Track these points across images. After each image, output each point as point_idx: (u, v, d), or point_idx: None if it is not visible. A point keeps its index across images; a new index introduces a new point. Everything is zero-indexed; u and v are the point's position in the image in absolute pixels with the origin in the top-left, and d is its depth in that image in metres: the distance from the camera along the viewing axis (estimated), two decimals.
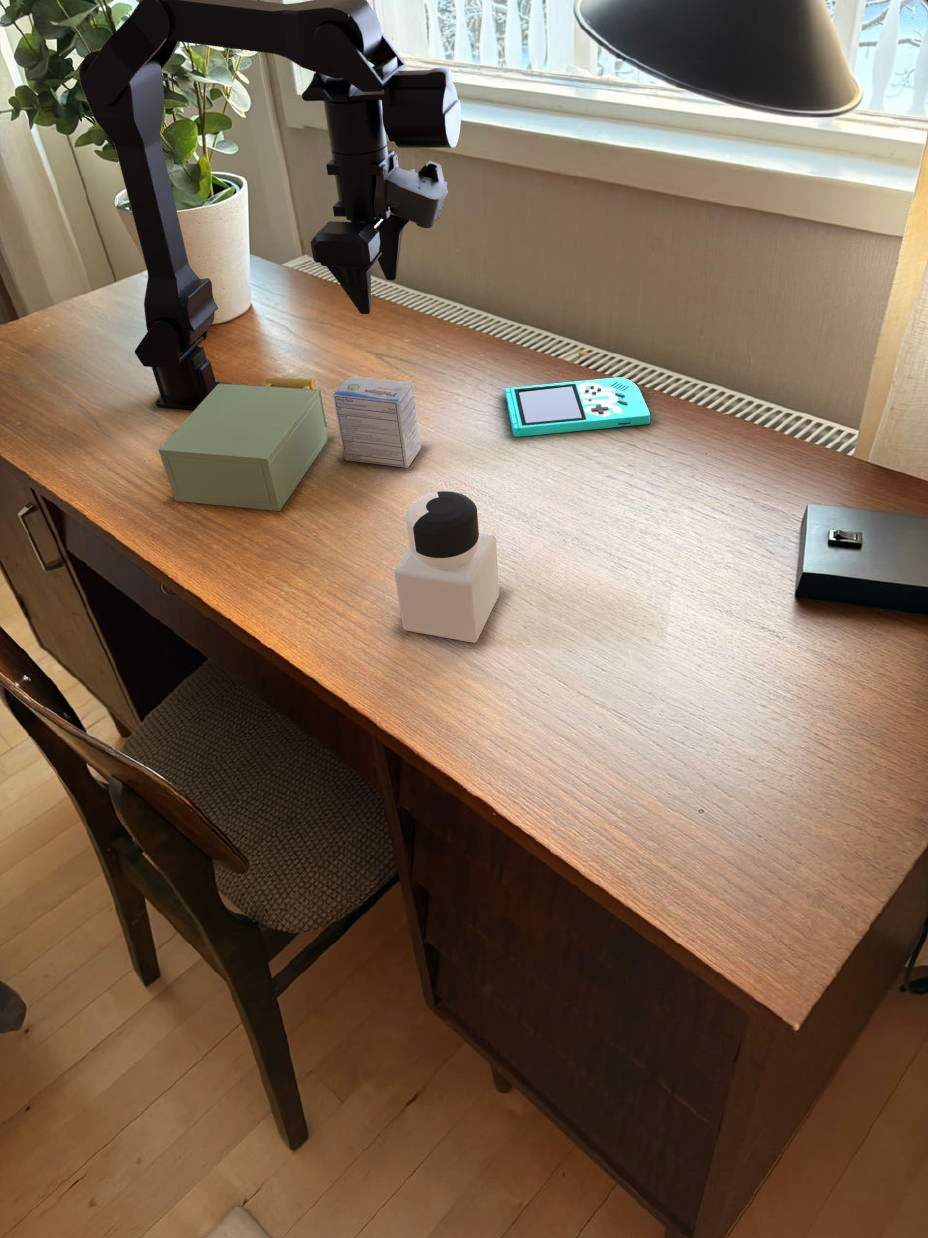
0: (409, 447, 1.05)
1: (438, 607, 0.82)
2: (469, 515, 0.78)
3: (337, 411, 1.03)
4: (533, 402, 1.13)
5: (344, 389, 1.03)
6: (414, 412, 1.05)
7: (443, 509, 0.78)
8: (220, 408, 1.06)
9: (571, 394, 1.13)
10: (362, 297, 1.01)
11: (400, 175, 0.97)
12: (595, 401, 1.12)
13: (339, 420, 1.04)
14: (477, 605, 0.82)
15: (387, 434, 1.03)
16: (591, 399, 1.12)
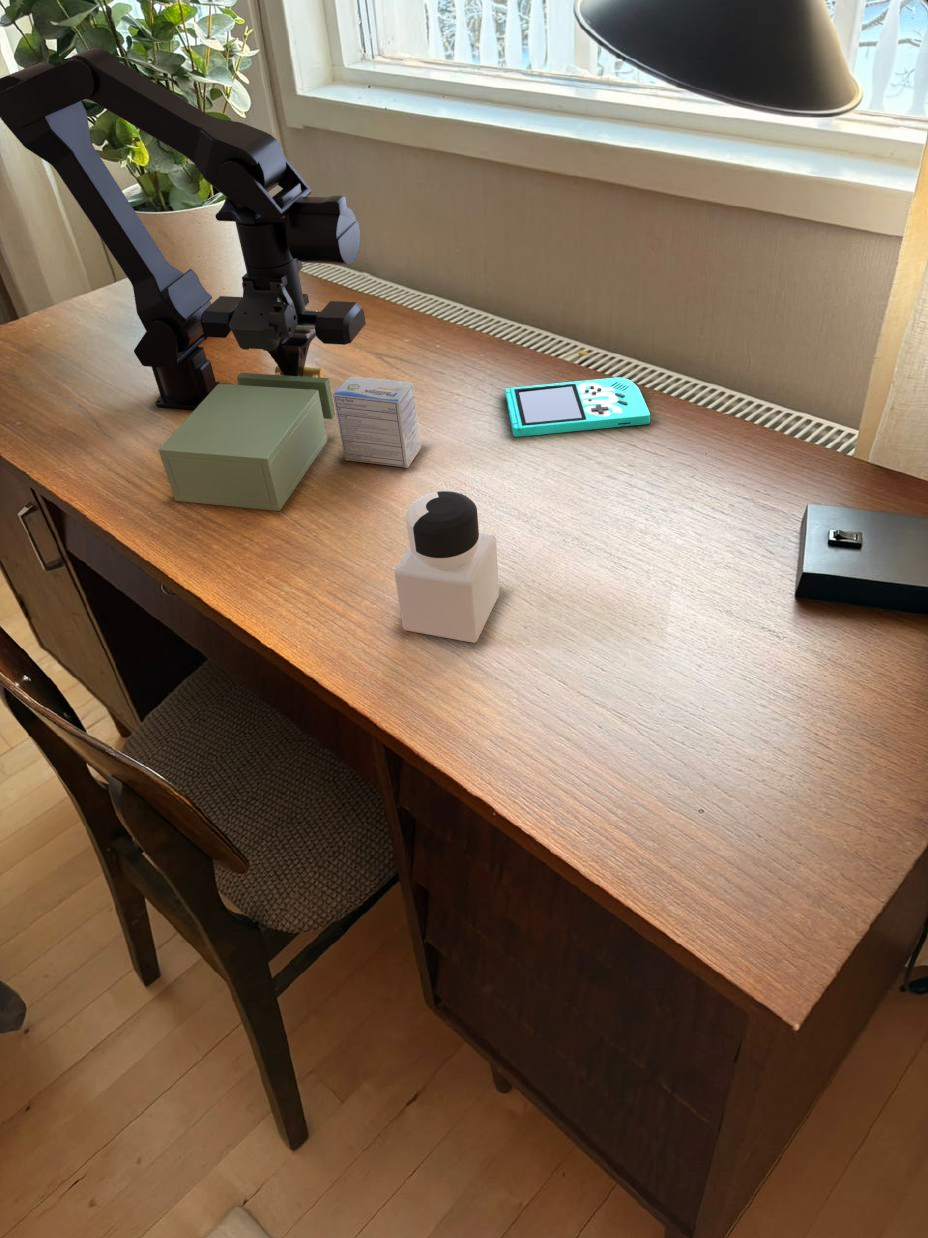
0: (409, 447, 1.05)
1: (438, 607, 0.82)
2: (469, 515, 0.78)
3: (337, 411, 1.03)
4: (533, 402, 1.13)
5: (344, 389, 1.03)
6: (414, 412, 1.05)
7: (443, 509, 0.78)
8: (220, 408, 1.06)
9: (571, 394, 1.13)
10: None
11: (262, 298, 1.05)
12: (595, 401, 1.12)
13: (339, 420, 1.04)
14: (477, 605, 0.82)
15: (387, 434, 1.03)
16: (591, 399, 1.12)
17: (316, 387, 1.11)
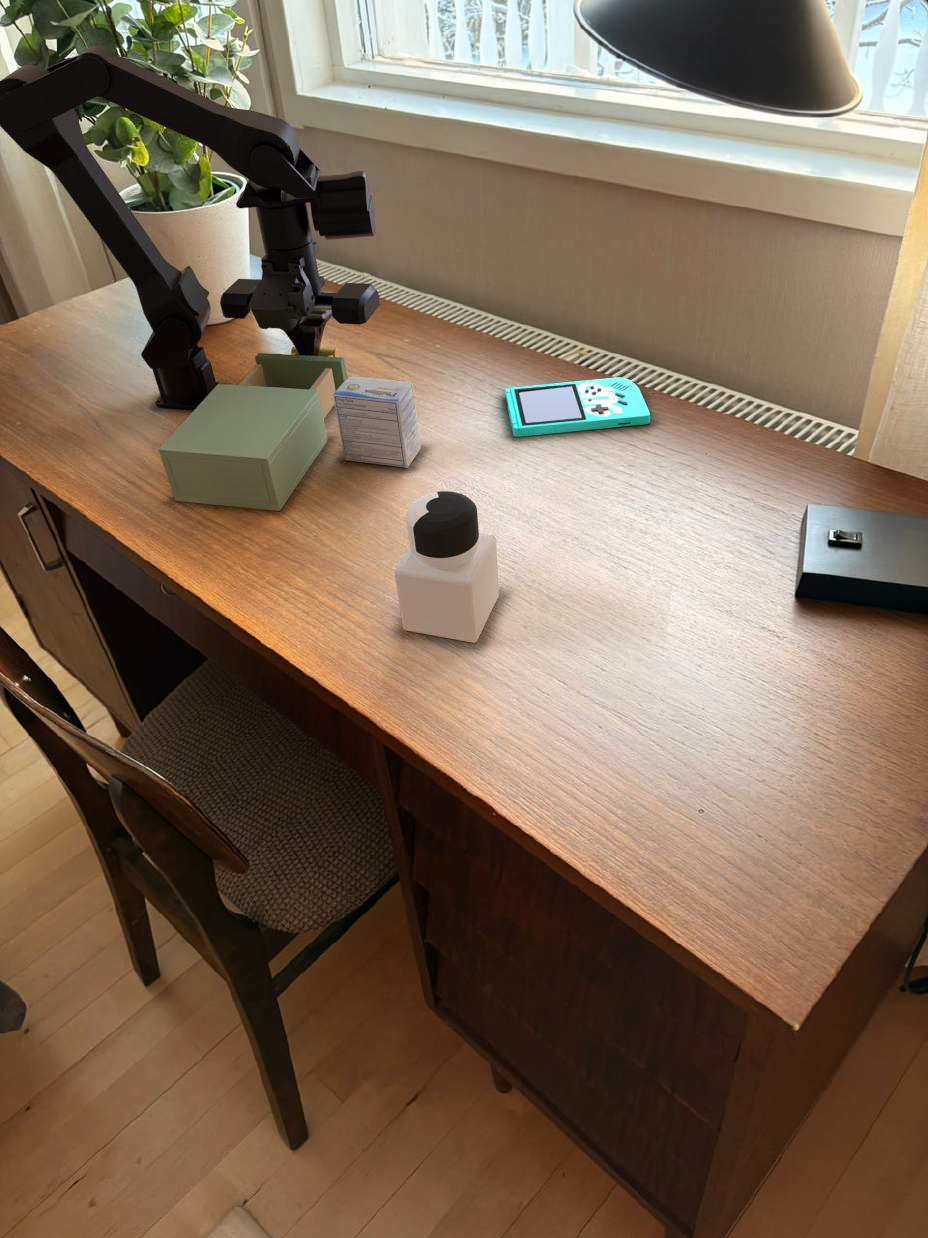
0: (409, 447, 1.05)
1: (438, 607, 0.82)
2: (469, 515, 0.78)
3: (337, 411, 1.03)
4: (533, 402, 1.13)
5: (344, 389, 1.03)
6: (414, 412, 1.05)
7: (443, 509, 0.78)
8: (220, 408, 1.06)
9: (571, 394, 1.13)
10: None
11: (280, 279, 1.08)
12: (595, 401, 1.12)
13: (339, 420, 1.04)
14: (477, 605, 0.82)
15: (387, 434, 1.03)
16: (591, 399, 1.12)
17: (332, 366, 1.15)
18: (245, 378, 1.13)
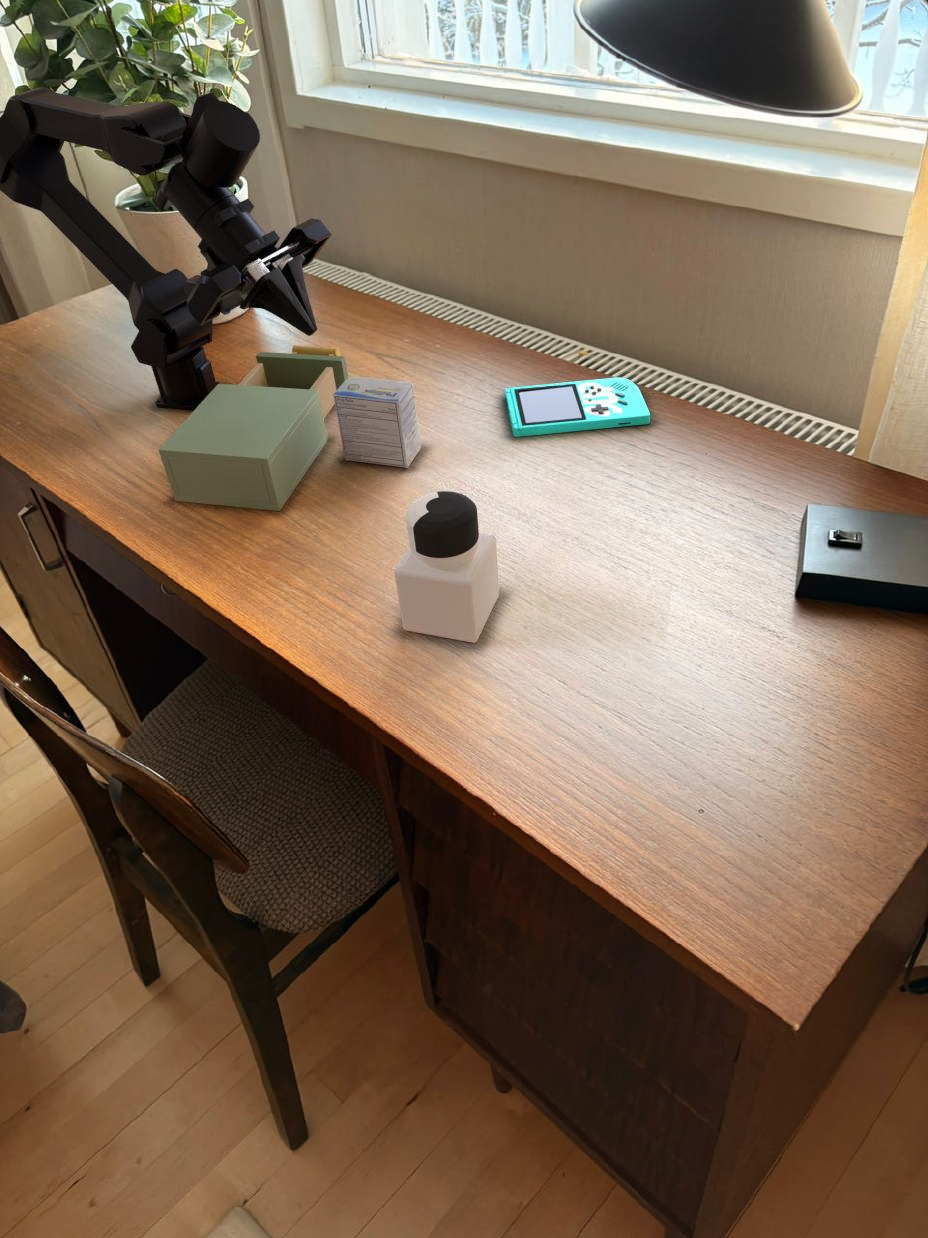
0: (409, 447, 1.05)
1: (438, 607, 0.82)
2: (469, 515, 0.78)
3: (337, 411, 1.03)
4: (533, 402, 1.13)
5: (344, 389, 1.03)
6: (414, 412, 1.05)
7: (443, 509, 0.78)
8: (220, 408, 1.06)
9: (571, 394, 1.13)
10: None
11: None
12: (595, 401, 1.12)
13: (339, 420, 1.04)
14: (477, 605, 0.82)
15: (387, 434, 1.03)
16: (591, 399, 1.12)
17: (333, 365, 1.15)
18: (246, 377, 1.13)
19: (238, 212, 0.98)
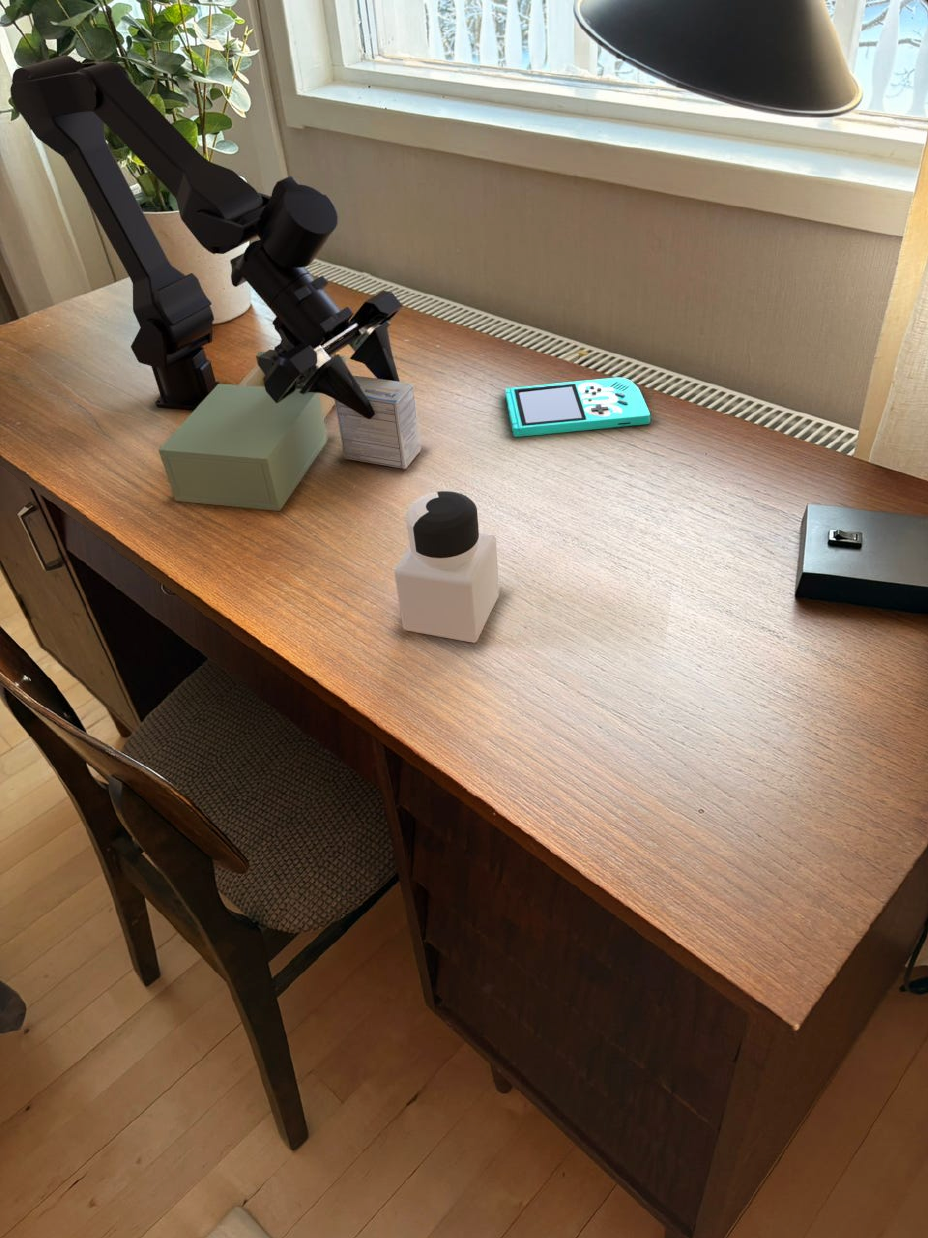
0: (408, 449, 1.05)
1: (438, 607, 0.82)
2: (469, 515, 0.78)
3: (337, 410, 1.04)
4: (533, 402, 1.13)
5: None
6: (414, 413, 1.04)
7: (443, 509, 0.78)
8: (220, 408, 1.06)
9: (571, 394, 1.13)
10: None
11: None
12: (595, 401, 1.12)
13: (339, 419, 1.04)
14: (477, 605, 0.82)
15: (386, 434, 1.03)
16: (591, 399, 1.12)
17: None
18: (246, 377, 1.13)
19: (313, 291, 0.99)
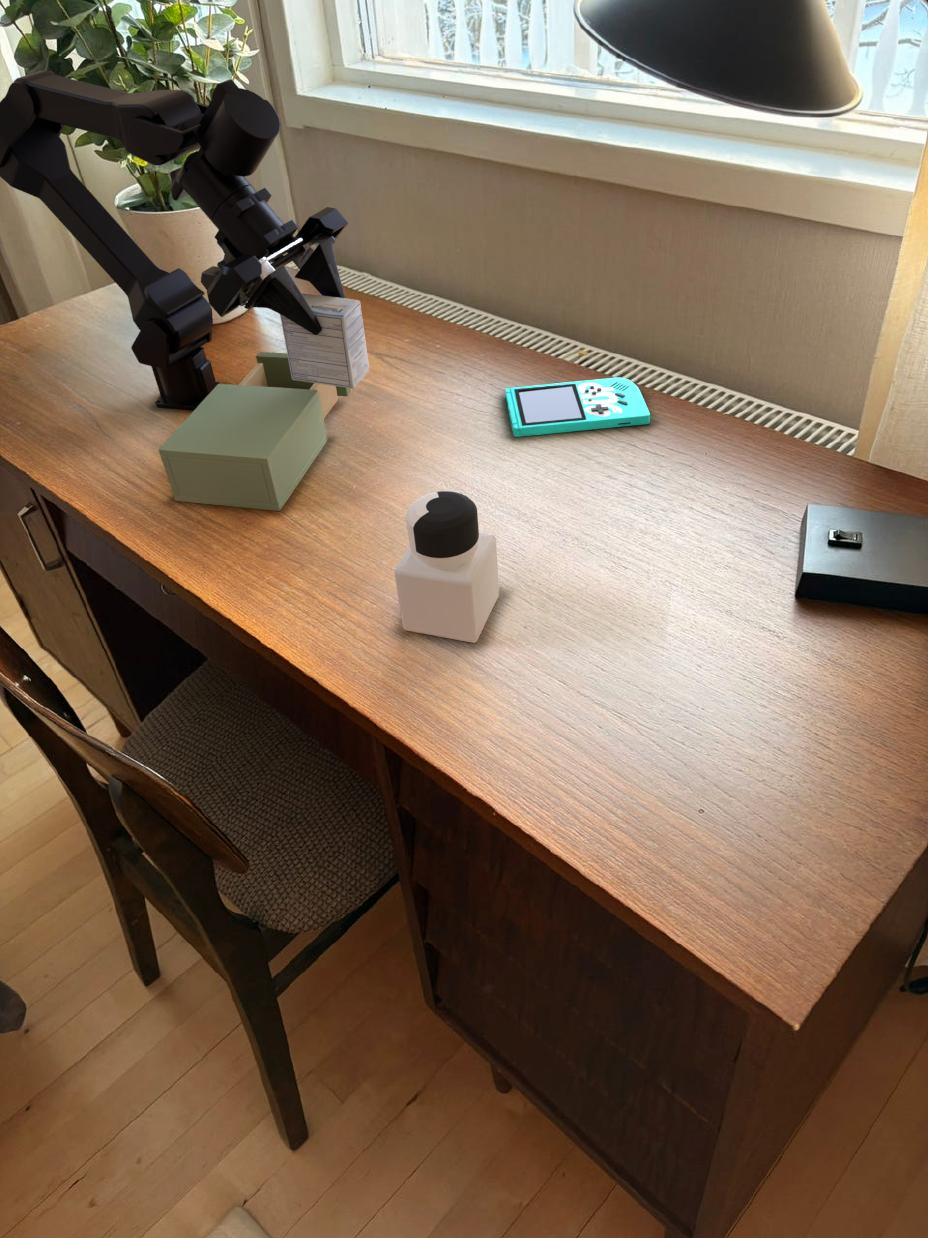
0: (356, 367, 1.04)
1: (438, 607, 0.82)
2: (469, 515, 0.78)
3: (283, 327, 1.02)
4: (533, 402, 1.13)
5: None
6: (362, 332, 1.03)
7: (443, 509, 0.78)
8: (220, 408, 1.06)
9: (571, 394, 1.13)
10: None
11: None
12: (595, 401, 1.12)
13: (285, 337, 1.03)
14: (478, 605, 0.82)
15: (333, 352, 1.02)
16: (591, 399, 1.12)
17: None
18: (246, 377, 1.13)
19: (256, 202, 0.97)
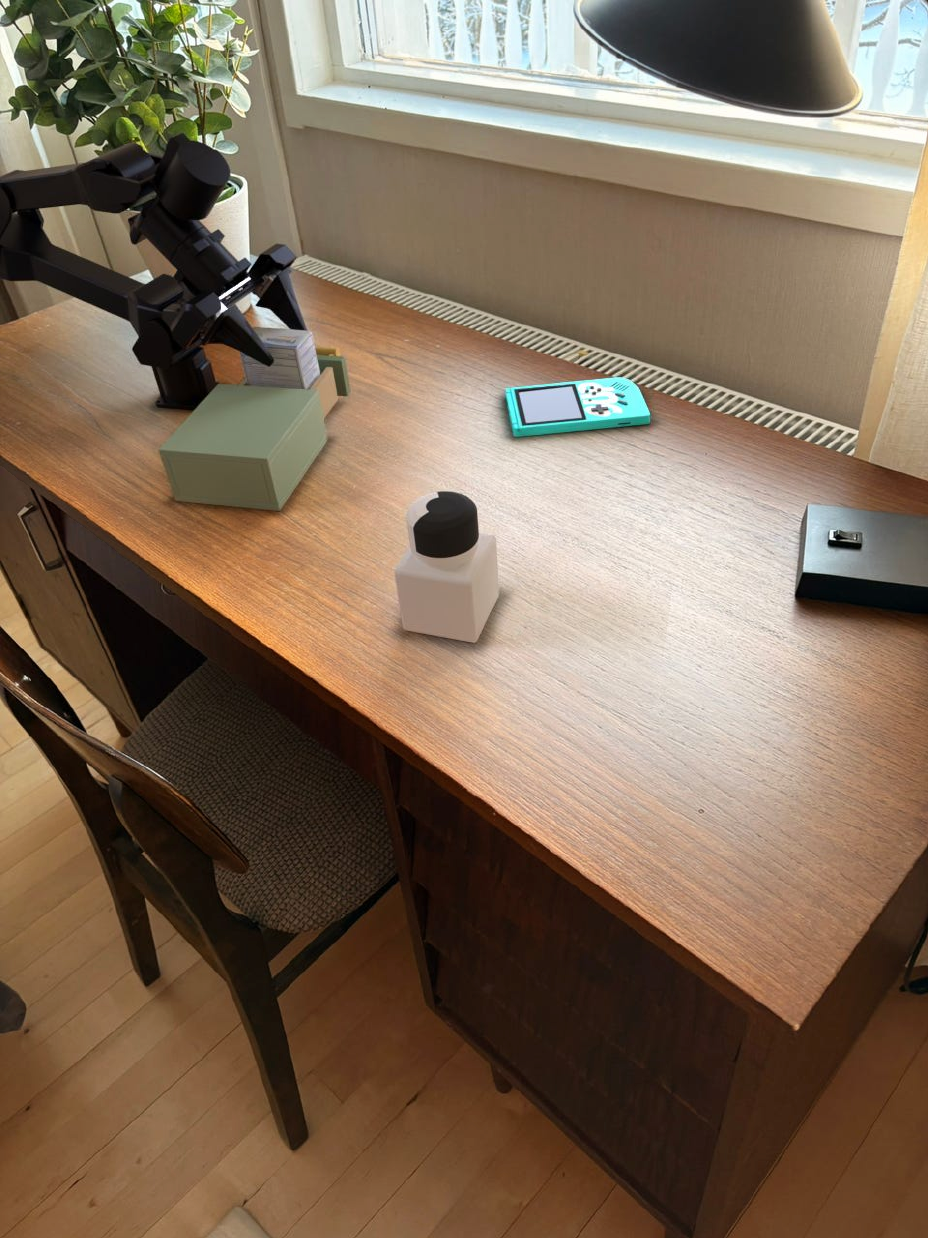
0: None
1: (438, 607, 0.82)
2: (469, 515, 0.78)
3: (242, 359, 1.10)
4: (533, 402, 1.13)
5: None
6: (315, 360, 1.11)
7: (443, 509, 0.78)
8: (220, 408, 1.06)
9: (571, 394, 1.13)
10: None
11: None
12: (595, 401, 1.12)
13: (244, 368, 1.11)
14: (478, 605, 0.82)
15: (289, 380, 1.10)
16: (591, 399, 1.12)
17: (333, 365, 1.15)
18: None
19: (211, 243, 1.05)
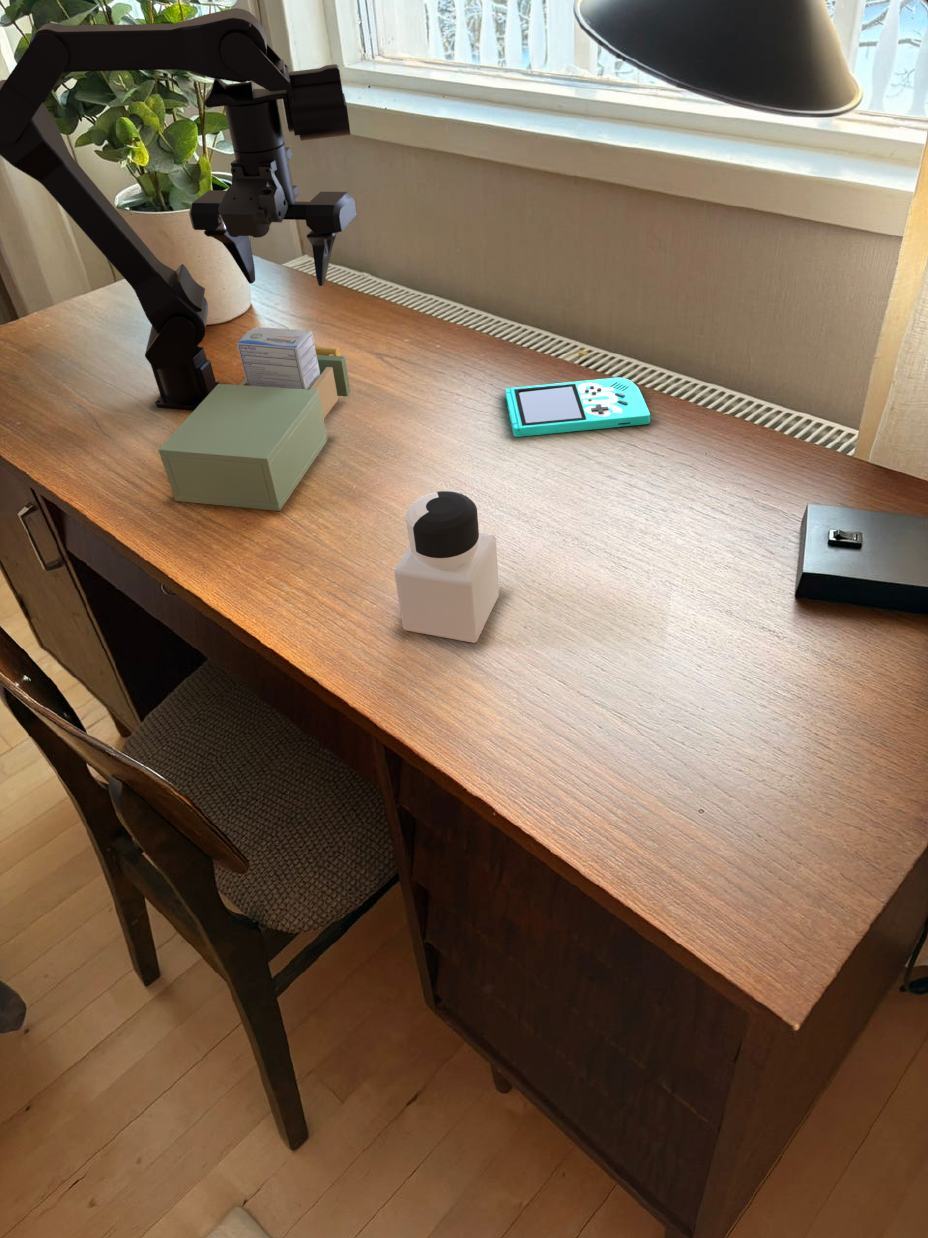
0: None
1: (438, 607, 0.82)
2: (469, 515, 0.78)
3: (242, 359, 1.10)
4: (533, 402, 1.13)
5: (247, 338, 1.09)
6: (315, 360, 1.11)
7: (443, 509, 0.78)
8: (220, 408, 1.06)
9: (571, 394, 1.13)
10: None
11: (251, 183, 1.03)
12: (595, 401, 1.12)
13: (244, 368, 1.11)
14: (477, 605, 0.82)
15: (289, 380, 1.10)
16: (591, 399, 1.12)
17: (333, 365, 1.15)
18: None
19: None
